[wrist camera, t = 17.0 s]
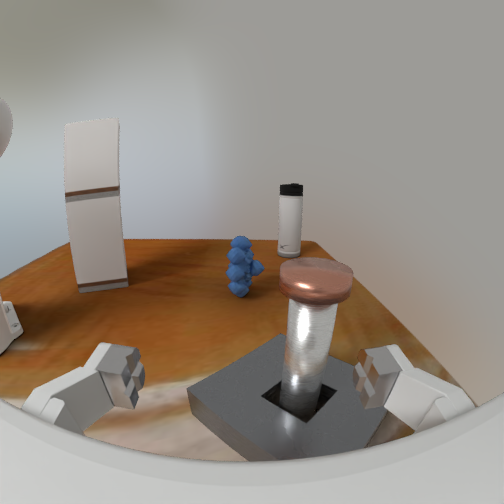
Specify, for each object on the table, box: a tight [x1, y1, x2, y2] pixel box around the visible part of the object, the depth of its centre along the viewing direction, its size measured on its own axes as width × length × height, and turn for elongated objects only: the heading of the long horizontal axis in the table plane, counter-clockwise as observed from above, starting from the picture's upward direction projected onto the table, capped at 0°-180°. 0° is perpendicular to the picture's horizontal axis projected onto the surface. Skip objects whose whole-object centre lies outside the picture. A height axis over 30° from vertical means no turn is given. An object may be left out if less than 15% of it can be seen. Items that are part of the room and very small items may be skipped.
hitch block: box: [187, 333, 388, 462], centre depth 23 cm, size 16×14×4 cm
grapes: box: [226, 236, 265, 297], centre depth 50 cm, size 12×7×12 cm, turn 170°
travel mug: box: [278, 183, 303, 258], centre depth 74 cm, size 6×7×20 cm
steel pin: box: [279, 257, 353, 423], centre depth 21 cm, size 5×5×16 cm
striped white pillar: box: [64, 118, 128, 293], centre depth 51 cm, size 11×11×35 cm
